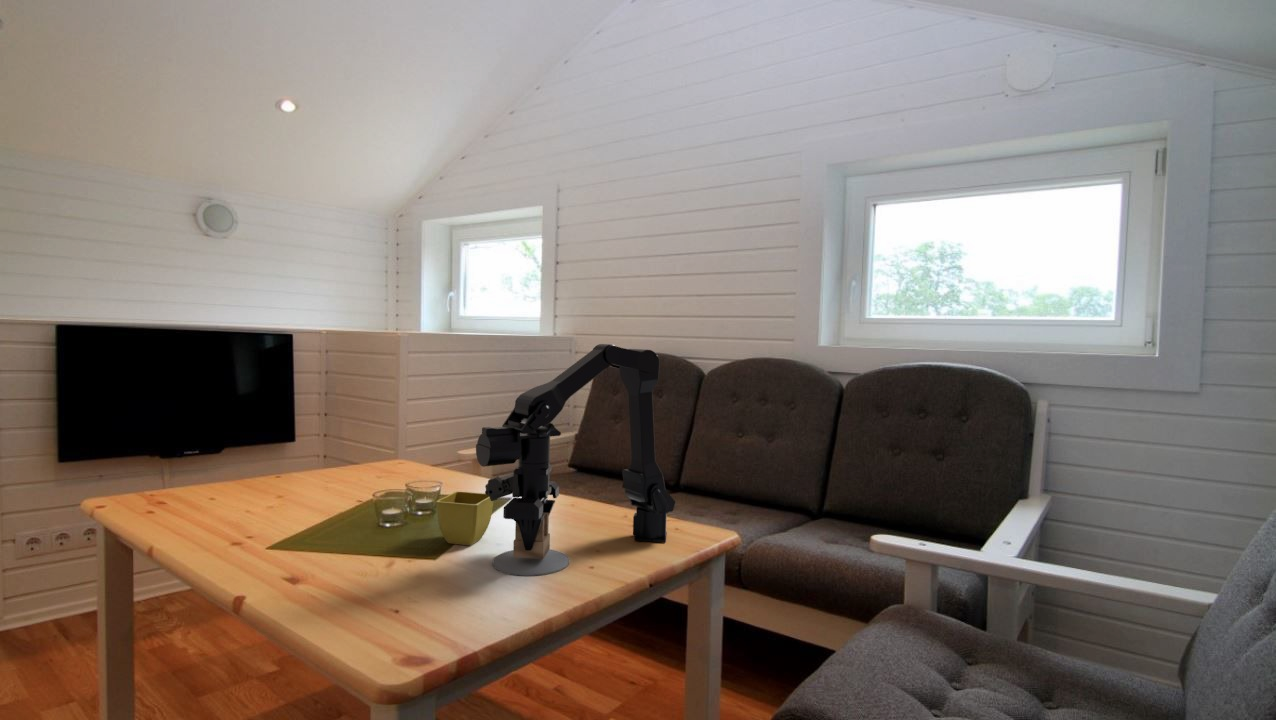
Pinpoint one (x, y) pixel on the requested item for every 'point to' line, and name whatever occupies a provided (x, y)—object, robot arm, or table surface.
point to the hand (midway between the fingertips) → (532, 545)
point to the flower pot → (464, 516)
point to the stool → (540, 543)
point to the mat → (531, 564)
